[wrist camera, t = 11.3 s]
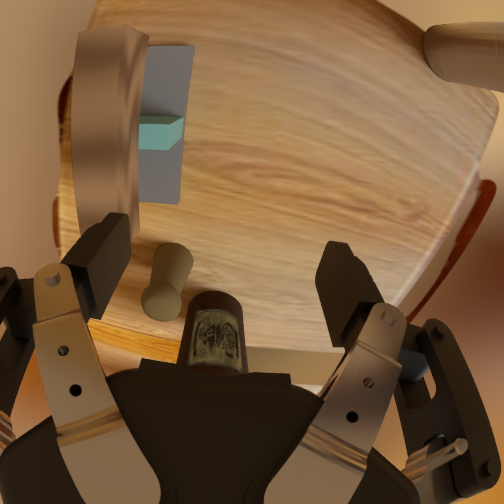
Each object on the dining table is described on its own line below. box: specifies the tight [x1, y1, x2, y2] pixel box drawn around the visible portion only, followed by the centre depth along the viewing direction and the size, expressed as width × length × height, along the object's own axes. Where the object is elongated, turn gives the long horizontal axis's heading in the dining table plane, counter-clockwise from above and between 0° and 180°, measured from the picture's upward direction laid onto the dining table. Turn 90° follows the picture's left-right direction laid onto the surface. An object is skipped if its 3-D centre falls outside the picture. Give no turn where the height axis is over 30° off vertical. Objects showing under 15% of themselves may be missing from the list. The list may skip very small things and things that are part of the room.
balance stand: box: [138, 46, 195, 205], centre depth 26 cm, size 20×10×8 cm, turn 171°
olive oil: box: [176, 292, 249, 377], centre depth 37 cm, size 11×11×25 cm
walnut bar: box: [71, 24, 149, 244], centre depth 20 cm, size 20×4×6 cm, turn 171°
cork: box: [141, 243, 193, 322], centre depth 36 cm, size 6×6×11 cm
